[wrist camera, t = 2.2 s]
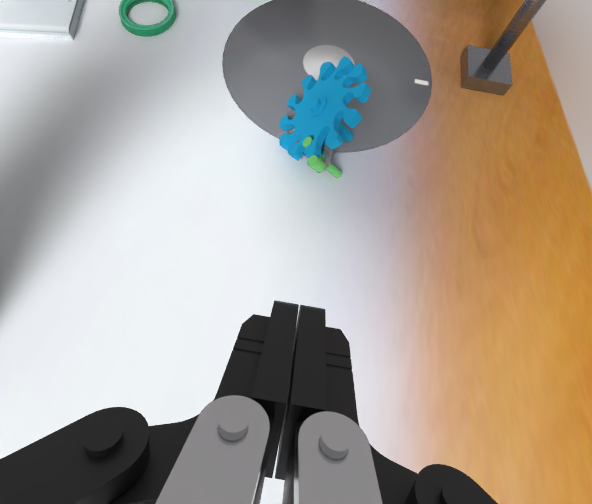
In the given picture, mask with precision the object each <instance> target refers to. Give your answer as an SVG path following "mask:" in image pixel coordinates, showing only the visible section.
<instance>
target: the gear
mask: <svg viewBox="0 0 592 504" xmlns="http://www.w3.org/2000/svg"><path fill="white" fill-rule="evenodd" d="M343 76H344V77H343ZM366 79H367V71H366V69H365V67H364V66H363V65H362V63H359V64H357V65H356V66H354V64H353V63H352V62H351V60H350V59H349V58H348V57H345V56H344V57H343V58H342V59H341V60H340V62H339V64H338V66H337V68H336V67H335V66H334V65H333V63H332V62H325V63H323V64H322V65H321V67H320V75H319V78H318V80H317V81H316V80H315V79H314V78H313V76H312V75H309V76H307V77H306V78H304V79H303V80H302V82H301V85H302V86H303V88H304V96H303V99H302V101H301V99H300V98H298V97H297V96H296V95H295V94H293V95H292V96H291V97H290V98H289V100H288V101H287V103H286V104H287V106H288V107H290V108H291V109H292V110H293V111H296V115H295V117H294V118H293V119H292V120H291V119H290V118H289V117H288V116H287V115H284V116H283V117H282V118H281V120H280V123H279V127H280V128H281V129H283V130H284V131H288V130H290V129H293V128H295V130H294V131H293V133H291V134H287V133H284V134H282V135H281V136H280V146H282V147H283V148H284V149H286V150H287V149H288V153H289V154H290V155H291V156H292V157H293V158H295V159H296V160H297V161H298V160H299V159H300V158H301V157H302V155H303V153H304V155H306V156H307V157H308V158H309V159H308V162H307V164H308V165H309V166H310V167H311V168H313V169H314V170H315V171H317V172H318V173H320V172H322V171H323V170H325V169H326V170H328V171H329V172H330V173H332V174H333V175H334V176H335V177H340V176H341V174H342V172H341V171H340V170H339V169H338V168H337V167H335V166H334V165H333V164H332V163H331V160H332V154H333V149H335V148H337V147H339V146H340V145H342V143H343V140H345V141H346V142H349V141H351V140H352V138H353V134H352V133H351V132H350V131H349V130H348V129H347V128H346V127H345V126H344V125H343V123H342V122H341V119H342V118H343V117H344V122H345V123H346V124H347V125H348V126H349V127H350V128H354V127H355V126H356V125H357V124H358V123H359V122H360V121H361V119H362V115H361V114H360V113H359V112H358V111H357V110H356V109H350V108H348V103H349V102H350V100H352V99H353V98H356V99H357V100H358V101H359V102H360V103H365V102H366V101H367V100H368V98H369V96H370V93H371V89H370V87H369V86H368V85H367V84H366V83H362V82H364V81H365V80H366ZM353 83H361V84H359V85H358V86H356V87H353V88H349V86H350V85H351V84H353ZM300 139H301V140H300ZM298 140H300V141H299V142H298V143H296V144H294V143H295V142H296V141H298Z"/></svg>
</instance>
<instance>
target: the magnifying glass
mask: <svg viewBox="0 0 592 504" xmlns="http://www.w3.org/2000/svg"><path fill="white" fill-rule="evenodd" d="M142 2H157V3H160V4H162V5H164V6H165V7H166V8H167V9H168V10H169V13H168V16H167V17H166V18H165V19H164V20H163V21H161V22H160V23H157V24H154V25H148V26H145V25H138V24H135V23H133V22H132V21H130V20H129V19H128V18H127V14H128V12H129V10H130V9H131V8H132V7H133V6H135V5H136V4H139V3H142ZM119 14H120V18H121V21H122V24H123V26H124V27H125V28H126V29H127V30H128V31H129V32H131V33H133V34H136V35H139V36H154V35H158V34H161V33H163V32H164V31H166V30H167V29H169V28H170V27H171V26H172V24H173V23H174V21H175V17H176V13H175V8H174V4H173V1H172V0H122V1H121V3H120V6H119Z"/></svg>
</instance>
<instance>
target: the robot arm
mask: <svg viewBox="0 0 592 504" xmlns="http://www.w3.org/2000/svg"><path fill="white" fill-rule="evenodd" d="M298 306H299V305H298V304H292V303H286V302H281V301H274V304H273V308H272V313H271V317H266V316H260V315H254V314H253V315H252V316H251V317H250V318H249V319H248V320H246V321H245V322H244V323H243V324H242V326H241V329H240V332H239V334H238V337H237V340H236V343H235V345H234V348H233V351H232V353H231V356H230V359H229V362H228V364H227V367H226V370H225V372H224V375H223V378H222V381H221V383H220V386H219V389H218V392H217V394H216V396H215V399H214V400H213V401H212V402H211V403H209V404H208V405H207V406H206V407H205V408H204V409H203V410H202V411H201V413H200V414H199V415H197V416H195V417H193V418H191V419H189V420H185V421H182V422H177V423H171V424H163V425H155V426H148V423H147V421H146V419H145V418H144V417H143V416H142V415H141V414H140V413H139V412H137V411H135V410H133V409H130V408H125V407H112V408H106V409H102V410H99V411H96V412H94V413H92V414H89V415H87V416H85V417H83V418H81V419H79V420H77V421H75V422H73V423H71V424H69V425H67V426H65V427H64V428H62V429H60V430H58V431H56V432H54V433H52V434H50V435H48V436H46V437H44V438H42V439H40V440H38V441H36V442H34V443H32V444H30V445H28V446H26V447H24V448H22V449H20V450H18V451H16V452H14V453H12V454H10V455H8V456H6V457H4V458H2V459H0V504H259V503H260V499H261V493H262V488H263V483H264V477H269V478H272V475H273V471H274V466H275V461H276V456H277V451H278V458H277V466H276V474H275V478H276V479H282V480H285V483H284V493H283V503H282V504H498V503H497V502H495V501H494V500H493V499H492V498H491V497H490V496H489V495H488V494H487V493H486V492H485V491H484V490H483V489H482V488H481V487H480V486H479V485H478V484H477V483H476V482H475V481H474V480H472V479H471V478H470V477H469V476H467V475H466V474H464V473H463V472H461V471H459V470H457V469H455V468H453V467H450V466H447V465H441V464H432V465H429V466H426V467H425V468H423V469H422V470H421V471H420V472H419V474H417V473H415V472H413V471H411V470H409V469H407V468H405V467H403V466H401V465H399V464H397V463H395V462H393V461H391V460H389V459H387V458H386V457H384V456H383V455H381V454H380V453H379V452H377V451H376V450H375V449H374V448H373V447H372V446H371V445H370V444H369V441H368V439H367V437H366V435H365V433H364V432H363V430H362V429H361V428H360V426H359V423H358V417H357V409H356V400H355V391H354V382H353V373H352V365H351V359H350V357H351V356H350V347H349V342H348V340H347V339H346V337H345V336H344V334H343V333H342V331H341V329H335V328H330V327H325V309H321V308H316V307H310V306H304V305H300V310H299V315H298ZM297 315H298V320H297ZM296 323H297V325H296ZM279 441H280V443H279ZM278 446H279V450H278Z"/></svg>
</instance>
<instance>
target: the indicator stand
mask: <svg viewBox="0 0 592 504" xmlns="http://www.w3.org/2000/svg"><path fill="white" fill-rule="evenodd" d="M545 1H546V0H525V1H524V3H523V4H522V6H521V7H520V8H519V10H518V11H517V13H516V14H515V16H514V17H513V19H512V20H511V22H510V23H509V24H508V26H507V27H506V29H505V30H504V32H503V33H502V35H501V36H500V38H499V39H498V40H497V42H496V43H495V45H494V46H493V48H492V49H486V48H481V47H476V46H471V45H468V46H467V47H466V49H465V50H464V52H463V54H462V55H461V87H462V88H467V89H473V90H478V91H483V92H488V93H493V94H498V95H504V94H505V93H506V92H507V91H508V89H509V88H510V87H511V86H512V77H511V65H510V53H507V52H508V51H509V50H510V48H511V47H512V46H513V44H514V43H515V41H516V40H517V39H518V37H519V36H520V35H521V33H522V32H523V31H524V29H525V28H526V27H527V25H528V24H529V23H530V21H531V20H532V19H533V17H534V16H535V15H536V13H537V12H538V10H539V9H540V8H541V7H542V5H543V4H544V2H545Z"/></svg>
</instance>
